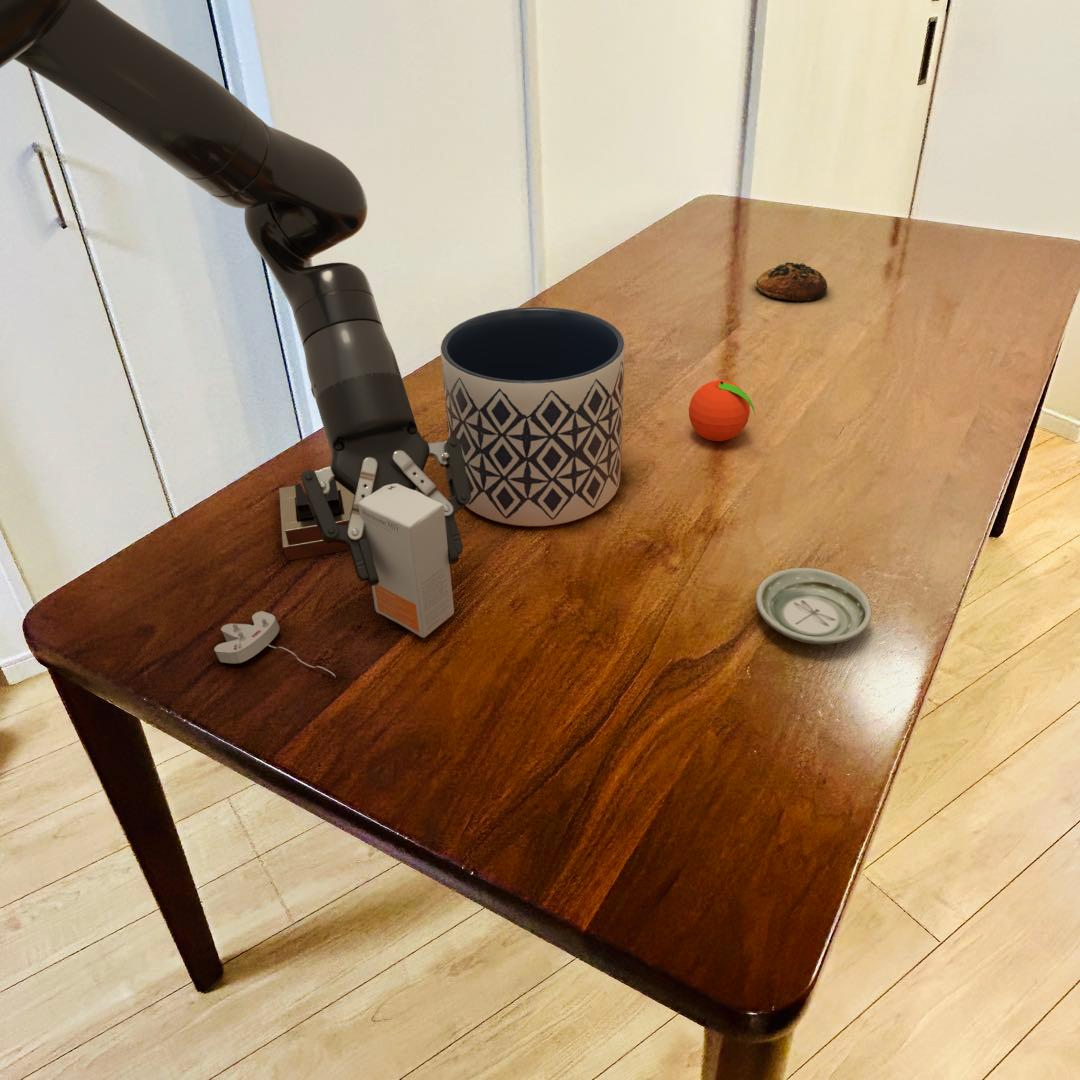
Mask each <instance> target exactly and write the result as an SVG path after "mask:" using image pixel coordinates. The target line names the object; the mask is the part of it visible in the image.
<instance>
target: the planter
mask: <svg viewBox="0 0 1080 1080" xmlns="http://www.w3.org/2000/svg"><path fill="white" fill-rule="evenodd" d="M625 344H626V343H625V339H624V336H623V335H622V333H621V331H620V330H619V329H618V328H617V327H616V326H615V325H613V324H612V323H610V322H609V321H607V320H605V319H603V318H601V317H598V316H597V315H593V314H590V313H587V312H583V311H579V310H573V309H566V308H559V307H545V306H535V307H534V306H533V307H532V306H531V307H529V306H528V307H515V308H507V309H506V308H505V309H500V310H495V311H491V312H486V313H483V314H480V315H479V314H478V315H477V316H474V317H471V318H468V319H467V320H465V321H462V322H461V323H459V324H457V325H455V326H454V327H453V328H451V329H450V331H448V332H447V333H446V334H445V336H444V337H443V339H442V341H441V344H440V358H441V371H442V381H443V382H442V383H443V384H442V385H443V392H444V395H443V396H444V405H445V406H444V407H445V416H446V427H447V437H448V438H450V437H457V438H458V439H459V440H460V444H461V449H462V454H463V459H464V464H465V469H466V474H467V479H468V484H469V489H470V494H471V500H470V501H469V503H467V504H466V506H465V507H466V508H468V509H469V510H470V511H472V512H474V513H475V514H477V515H479V516H481V517H484V518H485V519H488V520H491V521H494V522H497V523H501V524H505V525H506V524H507V525H512V526H518V527H519V526H522V527H546V526H547V527H548V526H554V525H556V526H557V525H561V524H566V523H570V522H573V521H577V520H580V519H582V518H585V517H587V516H590V515H592V514H593V513H595V512H597V511H599V510H600V509H602V508H603V507H605V506H606V505H607V504H608V503H609V502H610V501H611V500H612V499H613V497H614V496H615V495H616V493H617V491H618V490H619V487H620V483H621V482H620V481H621V465H622V441H623V440H622V439H623V418H624V417H623V413H624V388H625V387H624V386H625V383H624V382H625V353H626V352H625V351H626V350H625V349H626V347H625V346H626V345H625ZM448 438H447V439H448Z"/></svg>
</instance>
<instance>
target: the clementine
mask: <svg viewBox="0 0 1080 1080" xmlns="http://www.w3.org/2000/svg"><path fill="white" fill-rule="evenodd" d="M751 408H752V411H753V413H754V415H756V411H755V406H754V404H753V402H752V399H751V398H750V397H749V396H748V394H747V393H746V392H745V391H744V390H743V389H742V388H741V387H740V386H738V385H737V384H735V383H733V382H731V381H729V380H725V379H717V380H712V381H709V382H707V383H704V384H703V385H701V386H700V387H699V388H698V389H697V390H696V391H695V392H694V393H693V395H692V396H691V398H690V402H689V406H688V417H689V418H688V419H689V421H690V422H689V423H690V424H691V427H692V428H693V430H695V432H696V433H697V434H698V435H699V436H701V437H703V438H704V439H706V440H708V441H712V442H724V441H728V440H731V439H733V438H735V437H737V436H738V435H739V434H740V433H742V431H743V430H744V429H745V427H746V426H747V424H748V421H749V418H750V414H751Z"/></svg>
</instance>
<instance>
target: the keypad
mask: <svg viewBox="0 0 1080 1080" xmlns="http://www.w3.org/2000/svg"><path fill="white" fill-rule="evenodd" d="M336 484H337V490H338V495H339V501H340V508H341V514H342V515H337V516H334V519H335V521H336V524H337V525H344V526H348V523H349V519H350V514H351V509H352V504H353V500H354V494H352V493H351V492H350V491H349V490H347V489H346V488H345V487H343V486H342V485H341V484H340V483H338V482H337V481H336ZM278 491H279V492H278V494H279V507H280V522H281V523H280V525H281V540H282V551H283V553H284V554H283V555H284V558H285V561H286V562H289V561H294V560H300V559H305V558H311V557H316V556H322V555H329V554H334V553H340V552H346V551H350V550H349V548H348V546H347V545H345V544H343V543H335V542H333V543H326V542H325V541H324V540H323V538H322V536H321V533H320V531H319V529H318V526H317V524H316V521H315V519H313V520H307V521H301V522H300V519H299V514H298V510H297V504H296V492H295V485H290V486H285V487H279V488H278ZM416 491H418V490H416Z"/></svg>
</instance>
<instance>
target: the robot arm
mask: <svg viewBox="0 0 1080 1080" xmlns="http://www.w3.org/2000/svg"><path fill="white" fill-rule="evenodd" d="M13 60H14V61H16V62H18V63H20V64H22V65H23V66H25V67H26V68H28V69H29V70H31V71H33V72H35V73H36V74H38V75H40V76H41V77H42V78H45V79H46V80H48V81H49V82H51V83H53V85H55V86H57V87H59V88H60V89H62V90H63V91H65V92H66V93H68V94H70V95H71V96H72V97H74V98H75V99H77V100H78V101H80V102H81V103H83V104H84V105H86V106H87V107H88V108H90V109H91V110H93V111H94V112H95V113H97V114H98V115H100V116H101V117H103V118H104V119H105V120H107V121H108V122H109V123H111V124H112V125H114V126H115V127H116V128H118V129H119V130H121V131H122V132H123V133H125V134H126V135H127V136H129V137H130V138H132V139H133V140H134V141H135V142H137V143H138V144H140V145H141V146H142V147H144V149H146V150H147V151H149V152H151V153H152V154H153V155H155V156H156V158H159V159H160V160H162V162H164V163H165V164H167V165H168V166H169V167H171V168H172V169H174V170H176V172H178V173H180V174H181V175H182V176H184V177H185V178H186V179H188V180H189V181H191V182H192V183H194V184H195V185H197V186H198V187H199V188H201V189H203V191H205V192H207V193H208V194H210V195H211V196H212V197H214V198H215V199H217V200H218V201H220V202H222V203H223V204H225V205H227V206H229V207H232V208H234V209H235V208H237V209H244V212H243V213H244V214H243V215H244V216H243V218H244V226H245V229H246V233H247V235H248V237H249V239H250V241H251V243H252V244H253V246H254V247H255V249H256V250H257V252H258V253H259V255H260V257H261V258H262V259H263V260H264V262H265V264H266V265H267V267H268V268H269V270H270V271H271V273H272V275H273V277H274V278H275V279H276V282H277V283H278V285H279V287H280V289H281V291H282V293H283V295H284V296H285V298H286V300H287V302H288V304H289V306H290V308H291V310H292V315H293V318H294V321H295V324H296V328H297V331H298V335H299V337H300V341H301V344H302V345H301V346H302V347H303V352H304V357H305V365H306V370H307V375H308V379H309V382H310V390H311V394H312V396H313V398H314V400H315V403H316V406H317V409H318V413H319V416H320V419H321V423H322V426H323V430H324V433H325V437H326V440H327V443H328V447H329V449H330V454H331V462H330V465H329V466H327V467H323V468H320V469H318V470H312V469H306V470H304V471H302V473H301V475H300V483H301V488H302V490H303V493H304V495H305V497H306V500H307V502H308V505H309V507H310V509H311V512H312V514H313V517H314V519H315V521H316V524H317V526H318V529H319V531H320V533H321V536H322V538H323V540H324V541H325V542H326V543H333V542H335V543H343V544H345V545H347V546H348V548H349V550H348V551H349V553H350V556H351V560H352V564H353V566H354V570H355V575H356V577H357V578H358V579H359V581H360V582H361V583H362V582H365V581H366V582H367V585H368V587H369V588H370V587H372V586H374V585H377V584H378V583H379V578H378V575H377V571H376V568H375V564H374V561H373V558H372V554H371V551H370V548H369V544H368V541H367V538H366V539H364V538H363V529H364V524H365V523H364V521H363V520H362V518H361V517H360V513H359V507H358V503H359V502H360V501H361V500H363V499H364V498H366V497H367V496H369V495H371V494H372V493H374V492H375V491H377V490H379V489H380V488H382V487H383V486H386V485H390V484H400V485H402V486H404V487H407V488H409V489H412V490H417V491H418V492H420V493H422V494H424V495H425V496H427V497H429V498H431V499H433V500H435V501H438V502H440V503H442V504H443V505H444V514H445V524H446V535H447V545H448V555H449V565H450V566H451V565H453V564H454V565H455V564H457V563H458V562H459V560H460V555H461V554H462V553H463V549H464V544H463V541H462V538H461V535H460V532H459V529H458V525H457V522H456V519H455V515H456V514H457V513H459V512H460V511H462V510H463V509H464V508H465V507H467V506H466V504H467V503H469V501H470V500H471V494H470V489H469V484H468V479H467V474H466V469H465V464H464V459H463V454H462V449H461V444H460V440H459V439H458V438H457V437H450V438H447V439H446V440H444V441H435V442H427V440H425V438H423V436H422V435H421V434H420V432H419V429H418V426H417V423H416V419H415V416H414V413H413V410H412V408H411V403H410V400H409V397H408V394H407V389H406V387H405V383H404V381H403V378H402V374H401V371H400V368H399V364H398V361H397V358H396V355H395V353H394V349H393V347H392V345H391V342H390V340H389V338H388V336H387V334H386V331H385V329H384V326H383V322H382V319H381V316H380V313H379V309H378V306H377V303H376V300H375V297H374V293H373V290H372V286H371V284H370V281H369V278H368V276H367V275H366V273H365V271H363V270H362V269H361V268H360V267H359V266H357V265H355V264H352V263H349V262H338V261H337V262H329V263H322V264H317V265H313V260H312V258H314V257H315V256H317V255H319V254H321V253H323V252H326V251H327V250H329V249H331V248H333V247H335V246H337V245H339V244H341V243H343V242H345V241H347V240H349V239H351V238H352V237H354V236H356V234H357V233H359V232H360V231H361V230H362V228H363V227H364V225H365V223H366V221H367V218H368V201H367V196H366V193H365V189H364V188H363V186H362V184H361V182H360V181H359V179H358V178H357V176H356V175H355V173H354V172H353V171H352V170H351V169H350V168H349V167H348V166H347V165H346V164H345V163H344V162H342V161H341V160H340V159H339V158H337V156H335V155H333V154H331V153H330V152H329V151H327V150H324V149H322V148H320V147H318V146H316V145H314V144H312V143H309V142H308V141H305V140H302V139H300V138H297V137H295V136H293V135H292V134H289V133H287V132H285V131H282V130H279V129H277V128H275V127H272V126H270V125H268V124H267V123H266V122H265V121H264V120H263V119H262V118H260V117H259V116H258V115H257V114H256V113H254V112H253V111H252V110H251V109H250V108H249V107H247V106H246V105H245V104H244V103H243V102H242V101H240V100H239V98H237V97H236V96H235V95H234V94H233V93H232V92H230V91H229V90H228V89H227V88H226V87H224V86H223V85H222V84H220V83H219V82H218V81H217V80H216V79H214V78H213V77H211V76H210V75H208V74H207V72H205V71H203V70H202V69H200V68H199V67H198V66H196V65H194V64H193V63H191V62H190V61H189V60H187V59H185V58H183V57H182V56H181V55H179V54H177V53H176V52H175V51H173V50H171V49H170V48H168V47H167V46H165V45H164V44H162V43H160V42H159V41H158V40H156V39H154V38H153V37H151V36H149V35H148V34H146V33H145V32H143V31H141V30H140V29H138V28H137V27H135V26H134V25H132V24H131V23H129V21H126V20H125V19H124V18H122V17H121V16H119V15H118V14H117V13H115V12H114V11H113V10H110V9H109V8H108V7H106V5H104V4H103V3H102V2H100V1H99V0H0V69H2V68H3V67H5V66H6V65H7V64H9V63H10V62H12V61H13ZM429 457H431V458H433V459H434V460H435V462H436V464H437V466H439V467H440V468H444V471H445V475H446V480H447V486H448V490H449V496H450V497H449V498H447V497H445V496H444V495H443V494H442V493H441V492H440V491H439V490H438V487H437V485H436V484H435V483H434V482H433V481H432V480H431V479H430V477H428V475H426V474H425V472H424V470H425V467H426V465H427V461H428V459H429ZM332 479H335V480H336V481H337V482H338V483H340V484H341V485H342V486H343V487H345V488H346V489H347V490H349V491H350V492H351V493H352V494H354V500H353V504H352V509H351V514H350V519H349V523H348V526H344V525H337V524H336V521H335V519H334V516H333V514H332V512H331V509H330V507H329V504H328V502H327V500H326V497H325V496H326V495H328V493H329V490H330V484H329V482H330V481H331V480H332Z"/></svg>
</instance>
